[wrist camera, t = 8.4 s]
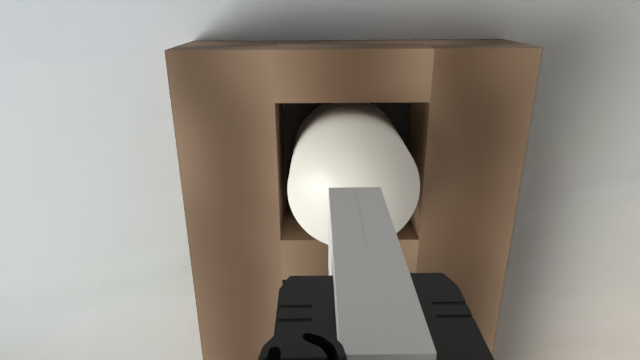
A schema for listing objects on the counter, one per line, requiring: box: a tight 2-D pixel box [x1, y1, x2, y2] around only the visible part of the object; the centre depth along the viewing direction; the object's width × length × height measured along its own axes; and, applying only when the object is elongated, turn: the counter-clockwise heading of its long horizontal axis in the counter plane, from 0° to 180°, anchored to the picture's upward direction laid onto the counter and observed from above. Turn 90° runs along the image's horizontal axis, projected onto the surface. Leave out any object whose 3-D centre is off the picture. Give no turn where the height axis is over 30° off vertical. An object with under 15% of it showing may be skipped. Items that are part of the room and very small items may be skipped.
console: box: [165, 39, 543, 360], centre depth 24 cm, size 14×26×4 cm, turn 0°
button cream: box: [287, 103, 420, 245], centre depth 20 cm, size 5×5×5 cm
